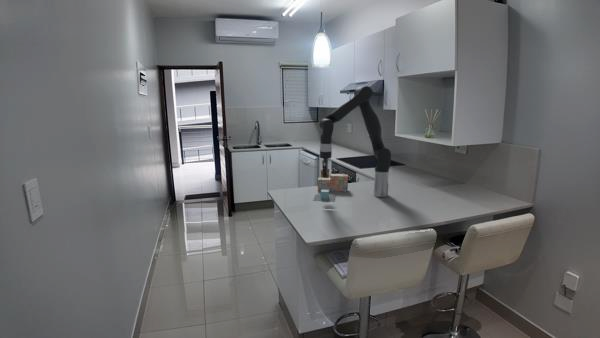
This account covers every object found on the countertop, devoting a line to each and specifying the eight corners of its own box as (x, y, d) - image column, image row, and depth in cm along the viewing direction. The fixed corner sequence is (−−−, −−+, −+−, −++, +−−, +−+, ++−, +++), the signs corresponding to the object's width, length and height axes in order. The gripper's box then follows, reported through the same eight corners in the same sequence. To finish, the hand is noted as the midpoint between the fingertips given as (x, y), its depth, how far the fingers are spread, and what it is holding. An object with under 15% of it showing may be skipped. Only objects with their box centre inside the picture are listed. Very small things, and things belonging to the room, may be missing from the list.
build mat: (336, 196, 222) (336, 195, 221) (334, 203, 208) (334, 201, 208) (315, 195, 224) (315, 194, 223) (313, 202, 210) (313, 200, 210)
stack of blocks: (317, 192, 233) (317, 175, 231) (317, 189, 239) (318, 173, 237) (347, 193, 231) (348, 176, 229) (347, 190, 237) (347, 174, 235)
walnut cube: (329, 176, 215) (329, 168, 214) (328, 178, 210) (328, 170, 209) (321, 175, 215) (321, 168, 214) (320, 177, 211) (320, 170, 210)
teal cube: (328, 197, 218) (329, 189, 217) (328, 199, 213) (328, 191, 212) (321, 196, 218) (321, 189, 217) (320, 199, 214) (320, 191, 213)
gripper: (330, 152, 201) (330, 179, 205) (332, 149, 215) (331, 174, 219) (318, 151, 203) (318, 178, 206) (320, 148, 216) (320, 173, 220)
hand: (325, 176), depth 213 cm, fingers closed on walnut cube, 5 cm apart
